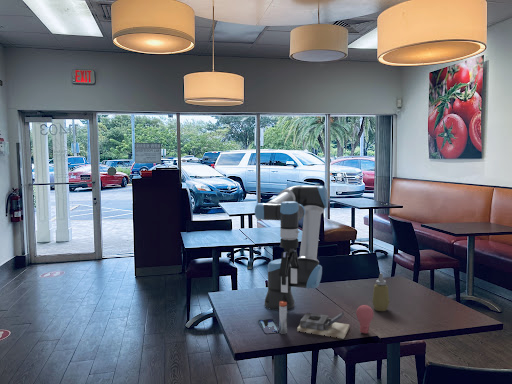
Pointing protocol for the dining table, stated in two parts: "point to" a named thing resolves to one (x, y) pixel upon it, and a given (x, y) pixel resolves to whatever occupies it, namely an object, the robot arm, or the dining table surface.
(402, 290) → the dining table surface
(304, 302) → the dining table surface
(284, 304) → the pin
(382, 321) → the dining table surface
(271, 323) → the smartphone
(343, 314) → the tab
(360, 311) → the light bulb
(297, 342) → the dining table surface
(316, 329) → the block
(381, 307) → the squeeze bottle
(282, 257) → the robot arm
